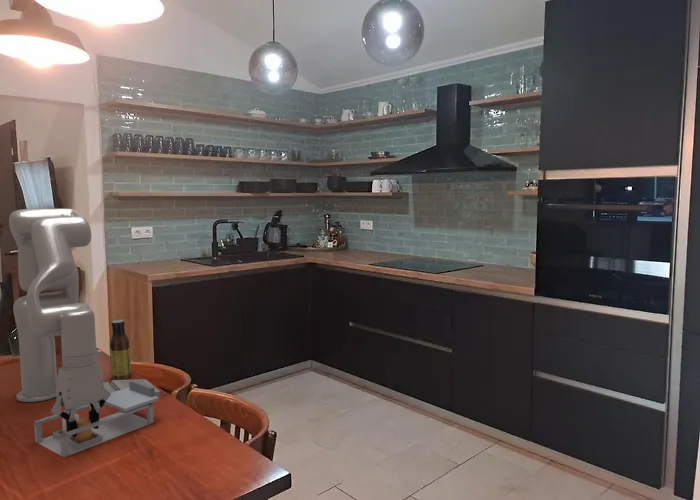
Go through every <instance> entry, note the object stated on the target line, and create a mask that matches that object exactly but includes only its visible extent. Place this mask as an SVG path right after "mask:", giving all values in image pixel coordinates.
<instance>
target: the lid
mask: <svg viewBox="0 0 700 500" xmlns="http://www.w3.org/2000/svg"><path fill="white" fill-rule="evenodd" d="M131 380H132V381H129V388H126V389H122V390H119V391H116V392H113V393H111V396H110V397H109V398H108V399H107V400H106V401H105V403H104V404H106V405H105V406H109V407H112V408H114V409H117V410H119V411H120V410H121V411H124V412H126V411H129V410H132V409H135V408H137V407H140V406H143V405H146V404H149V403H154V402H157V401H159V400H160V399H159V396H155V389H154V387H155V386H154V387H152V386H149V385H146V384H143V383H140V382H137V381H134V380H135V379H131Z"/></svg>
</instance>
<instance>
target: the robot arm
mask: <svg viewBox="0 0 700 500" xmlns="http://www.w3.org/2000/svg"><path fill="white" fill-rule="evenodd" d="M8 218H9V219H8V224H9V225H8V226H9V230H10V232H11V234H12V237H13V238H14V242H15V243H16V246H17V267H18V270H17V271H18V284H19V286H20V289H21V290H23V291H25V292H26V295H24V296H21V297H18V298H17V299H16V300H15V301H14V303H13V317H14V320H15V323H16V327H17V329H16V330H17V335H18V349H19V361H20V377H21V382H20V383H21V390H19V392H18V393H16V400H17V401H19V402H23V403H35V402H42V401H47V400H51V399H53V398H54V399H55V398H56V400H55V403H54V405H53V407H52V408H51V410H50V413H51V414H53V415H58V416H60V417H59V418H61V419H62V418H64V419H65V420H66V430H67V432H69V431H71V430H74V429H77V421H76V420H74V417H75V414H76V413H77V412H76V408H79V407H82V406H85V405H88V404H89V405H90V408H89V409H90V410H89V411H88V419H90V420H91V423H94V422H97V421H99V419H100V412H101V411H102V408H103V407H104V406H105V405H104V403H105V401H106V400H107V399H108V398H109V397H110V396H111V393H110V392H108V391H107V390H106V389H105V388H104V382H105V381H104V375H103V371H102V367H101V364H100V362H99V361H98V357H99V356H101V355H102V351H101V350H97V338H96V337H97V336H96V335H97V334H96V322H95V321H96V319H95V312H94V311H93V308H91V307H90V305H88V304H87V303H86V302H79V300H80V298H79V297H80V296H79V292H80V291H79V290H80V289H79V286H80V284H79V281H80V279H79V270H78V266H77V264H76V261H75V260H74V255H73V252H72V248H85V247H87V246H89V244H91V241H92V230H91V226H90V224H89V222H88V220H87V219H86V217H84V216H83V215H82V214H81V213H80V212H78V211H77V210H76V209H74V208H24V209H17V210H15V211H14V210H13V212H11V213H10V214H9V217H8ZM57 290H58V291H57ZM59 290H60V291H59ZM49 291H53V292H49ZM43 292H44V293H43ZM58 336H60V340H61V358H62V359H61V360H62V361H61V362H62V366H61V367H59V368H58V369H57V354H56V338H55V337H58ZM57 371H58V373H57ZM62 407H64V410H61V408H62ZM93 428H94V429H98V428H99V425H98V426H96V427H93ZM71 436H73V437H76V436H77V433H76V434H73V435H71Z"/></svg>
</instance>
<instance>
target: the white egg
mask: <svg viewBox="0 0 700 500" xmlns="http://www.w3.org/2000/svg"><path fill="white" fill-rule="evenodd" d="M74 420H76V421H78V420H80V415H79V414H78V413H75V417H74ZM61 422H62V423H61V424H62V429H63V433H66V432H67V430H66V420H65V419H64V418H62V417H61Z"/></svg>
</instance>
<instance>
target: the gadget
mask: <svg viewBox="0 0 700 500" xmlns="http://www.w3.org/2000/svg"><path fill="white" fill-rule="evenodd" d="M132 380H134V381H137V382H140V383H143V384H146V385H149V386H152V387H154V389H155V396H157V397H159V396H162V395H161V391H160V390H159V389H158V388H157V387H156V386H154V385H153V383H151V382H149V380H148V379H145V378H144V379H141V378H140V379H124V380H115V379H112V380H111V381H110V382H108V381H104V388H105V389H106V390H107V391H108V392H110V393H113V392H116V391H119V390H122V389H126V388H129V381H132ZM103 406H107V405H106V404H104V405H103ZM87 409H91V408H90V407H89V408H86V409H85V410H87Z"/></svg>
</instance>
